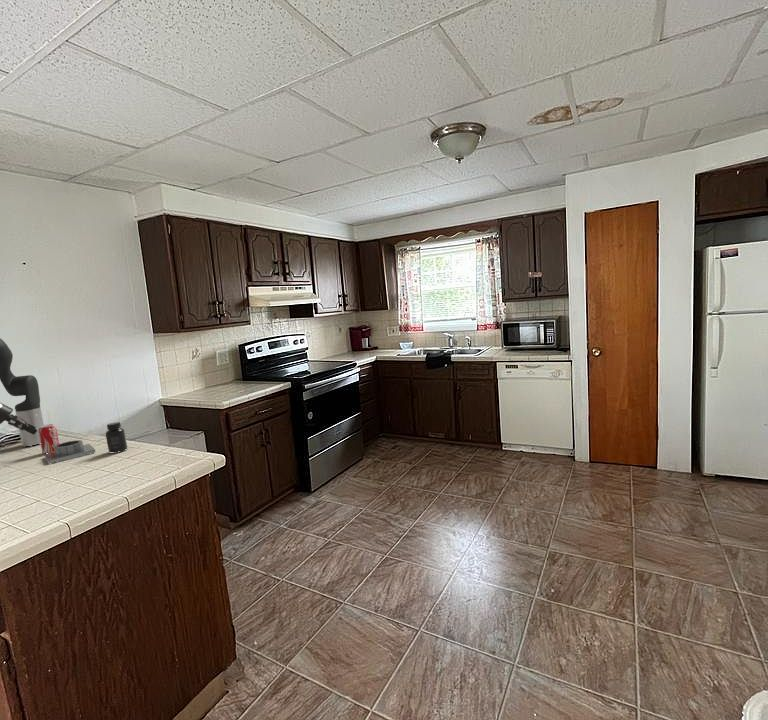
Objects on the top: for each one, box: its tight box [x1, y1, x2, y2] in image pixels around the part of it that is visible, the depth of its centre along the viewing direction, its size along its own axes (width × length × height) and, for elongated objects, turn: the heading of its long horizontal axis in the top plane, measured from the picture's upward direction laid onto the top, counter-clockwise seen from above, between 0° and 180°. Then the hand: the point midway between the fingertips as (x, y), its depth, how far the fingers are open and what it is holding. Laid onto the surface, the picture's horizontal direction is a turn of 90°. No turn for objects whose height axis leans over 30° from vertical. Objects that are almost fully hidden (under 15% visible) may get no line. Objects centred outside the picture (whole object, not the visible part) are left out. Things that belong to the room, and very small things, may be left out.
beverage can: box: [38, 423, 60, 454], centre depth 190 cm, size 6×6×12 cm
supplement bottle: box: [105, 421, 128, 453], centre depth 182 cm, size 7×7×12 cm
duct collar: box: [43, 439, 96, 465], centre depth 182 cm, size 14×16×5 cm
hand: (35, 431), depth 186 cm, fingers open, 8 cm apart
